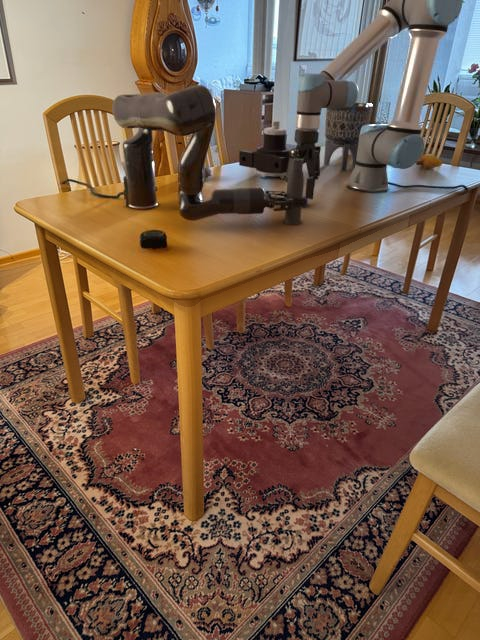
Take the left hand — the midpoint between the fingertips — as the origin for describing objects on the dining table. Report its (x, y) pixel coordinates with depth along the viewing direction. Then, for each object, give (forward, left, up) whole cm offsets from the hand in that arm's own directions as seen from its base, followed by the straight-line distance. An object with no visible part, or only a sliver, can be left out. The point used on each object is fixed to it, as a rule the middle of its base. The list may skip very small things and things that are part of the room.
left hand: (302, 199), depth 136 cm
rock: (-50, +40, -7) cm, 64 cm away
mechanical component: (-20, +63, -7) cm, 67 cm away
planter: (+4, +87, -7) cm, 87 cm away
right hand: (-3, +18, -5) cm, 19 cm away
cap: (-3, +18, -5) cm, 19 cm away
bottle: (-2, -1, -7) cm, 7 cm away
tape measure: (-32, -35, -7) cm, 48 cm away
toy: (+42, +102, -7) cm, 111 cm away
